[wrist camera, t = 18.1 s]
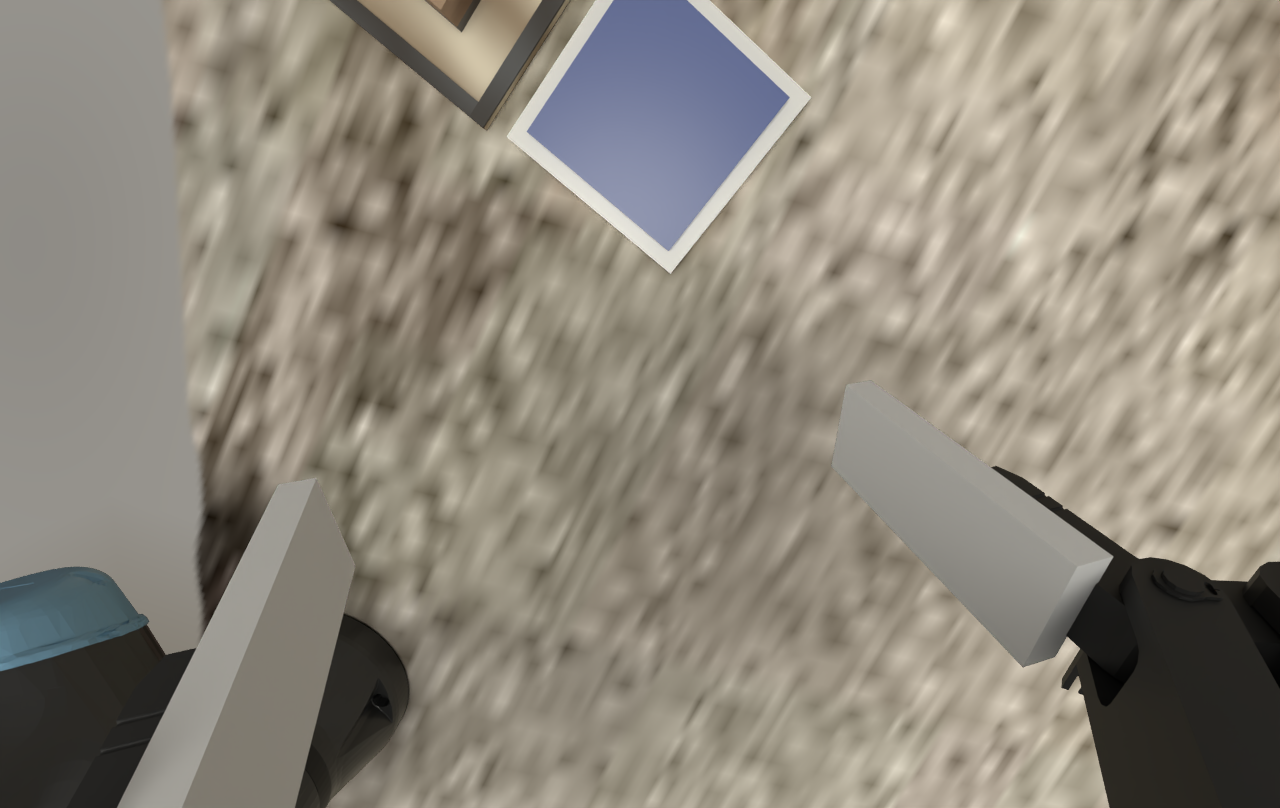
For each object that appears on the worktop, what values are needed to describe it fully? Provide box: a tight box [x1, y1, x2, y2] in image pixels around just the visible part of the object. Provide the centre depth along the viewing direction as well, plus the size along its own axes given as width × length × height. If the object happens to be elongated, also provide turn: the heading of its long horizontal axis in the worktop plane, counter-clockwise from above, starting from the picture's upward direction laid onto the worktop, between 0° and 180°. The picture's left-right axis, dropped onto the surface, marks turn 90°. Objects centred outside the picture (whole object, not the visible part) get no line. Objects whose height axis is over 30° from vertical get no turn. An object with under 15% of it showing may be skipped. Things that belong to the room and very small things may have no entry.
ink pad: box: [507, 0, 811, 274], centre depth 32 cm, size 13×13×2 cm
